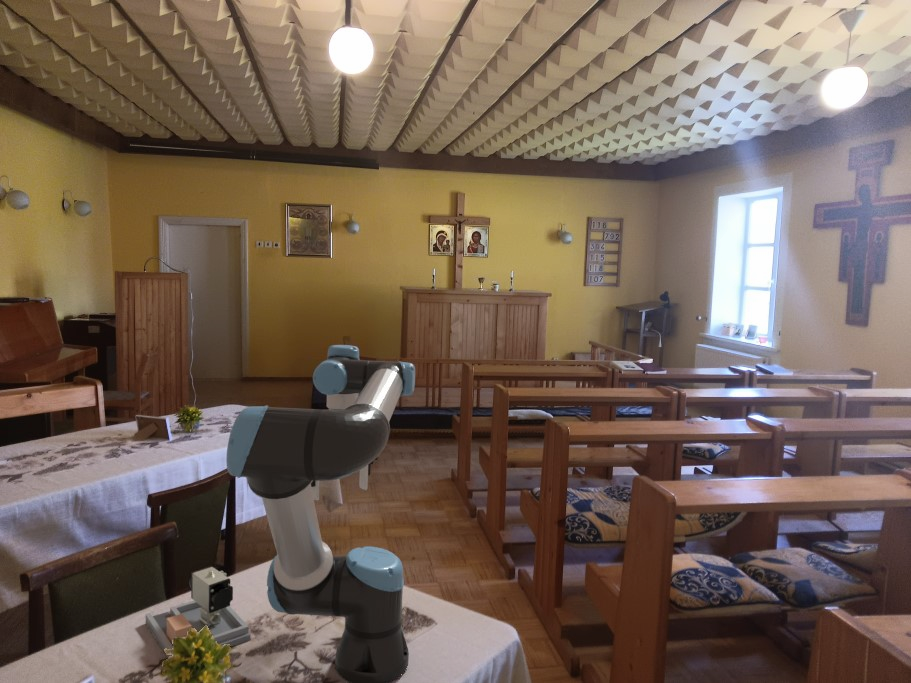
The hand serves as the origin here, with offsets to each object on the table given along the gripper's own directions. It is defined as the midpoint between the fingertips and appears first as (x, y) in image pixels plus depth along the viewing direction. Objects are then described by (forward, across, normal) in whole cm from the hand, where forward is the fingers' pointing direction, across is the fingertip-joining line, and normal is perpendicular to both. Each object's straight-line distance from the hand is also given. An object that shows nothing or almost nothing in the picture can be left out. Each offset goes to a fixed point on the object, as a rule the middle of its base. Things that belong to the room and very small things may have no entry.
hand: (339, 493), depth 154 cm
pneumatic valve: (+26, +29, -5) cm, 39 cm away
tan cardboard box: (+25, +38, -1) cm, 45 cm away
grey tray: (+27, +32, -5) cm, 42 cm away
